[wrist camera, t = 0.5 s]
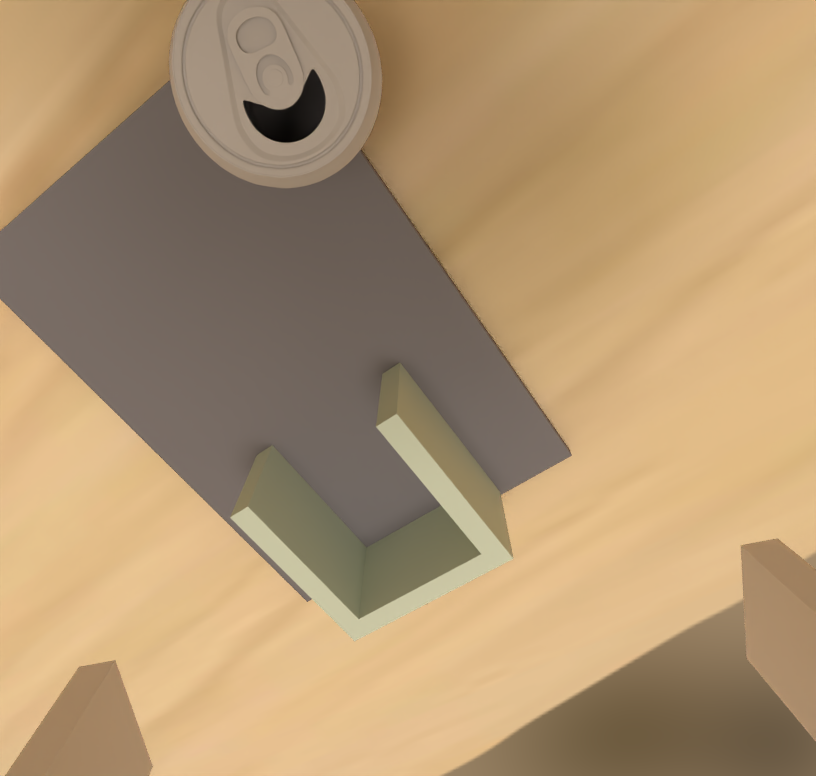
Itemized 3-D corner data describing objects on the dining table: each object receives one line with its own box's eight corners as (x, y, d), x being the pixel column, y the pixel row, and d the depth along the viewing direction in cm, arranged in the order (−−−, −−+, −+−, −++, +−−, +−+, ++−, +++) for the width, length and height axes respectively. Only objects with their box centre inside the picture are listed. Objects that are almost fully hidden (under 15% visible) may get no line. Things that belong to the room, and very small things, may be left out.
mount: (259, 4, 28) (217, -17, 22) (569, 450, 38) (597, 518, 32) (-29, 260, 34) (-125, 299, 28) (308, 595, 43) (291, 677, 37)
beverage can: (267, 195, 31) (226, 226, 20) (201, 56, 28) (110, 1, 17) (390, 141, 30) (419, 140, 19) (332, -4, 28) (327, -101, 17)
